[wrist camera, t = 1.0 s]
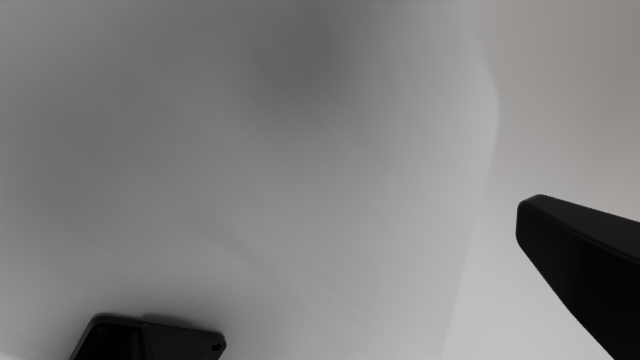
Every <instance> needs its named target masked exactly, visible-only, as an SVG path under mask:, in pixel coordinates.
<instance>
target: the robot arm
mask: <svg viewBox="0 0 640 360" xmlns="http://www.w3.org/2000/svg"><path fill="white" fill-rule="evenodd" d="M516 239H517V242H518V244H519V246H520V247H521V249H522V250H523V252H524V253H525V254H526V255H527V257H528V258H529V259H530V261H531V262H532V263H533V264H534V266H535V267H536V268H537V270H538V271H539V272H540V274H541V275H542V276H543V278H544V279H545V280H546V282H547V283H548V284H549V286H550V287H551V288H552V290H553V291H554V292H555V293H556V295H557V296H558V297H559V299H560V300H561V301H562V302H563V304H564V305H565V306H566V308H567V309H568V310H569V311H570V313H571V314H572V315H573V316H574V317H575V318H576V319H577V320H578V321H579V323H580V324H581V325H582V326H583V327H584V328H585V329H586V330H587V331H588V332H589V333H590V334H591V335H592V336H593V338H594V339H595V340H596V341H597V342H598V343H599V344H600V345H601V346H602V347H603V348H604V349H605V350H606V351H607V352H608V354H609V355H610V356H611V357H612V358H613V359H614V360H640V222H637V221H634V220H630V219H627V218H623V217H620V216H616V215H613V214H609V213H606V212H602V211H599V210H595V209H592V208H588V207H585V206H581V205H578V204H574V203H571V202H568V201H564V200H560V199H557V198H554V197H550V196H547V195H541V194H538V195H535V196H532V197H530V198H528V199H525V200H523V201H521V202H520V203H519V205H518V208H517V220H516ZM101 327H106V328H104V329H98V328H101ZM214 344H215V345H214ZM226 346H227V344H226V340H225V337H224V336H223V335H222V334H219V333H212V332H206V331H199V330H193V329H187V328H180V327H174V326H167V325H161V324H155V323H148V322H142V321H135V320H129V319H123V318H116V317H110V316H100V317H97V318H95V319H93V320H92V321H91V322H90V324H89V326H88V327H87V329H86V331H85V333H84V335H83V336H82V338H81V340H80V342H79V344H78V345H77V347H76V349H75V351H74V353H73V354H72V356H71V358H70V360H218V359H219V357H220V356H221V354H222V353H223V351H224V350H225V348H226Z"/></svg>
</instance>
